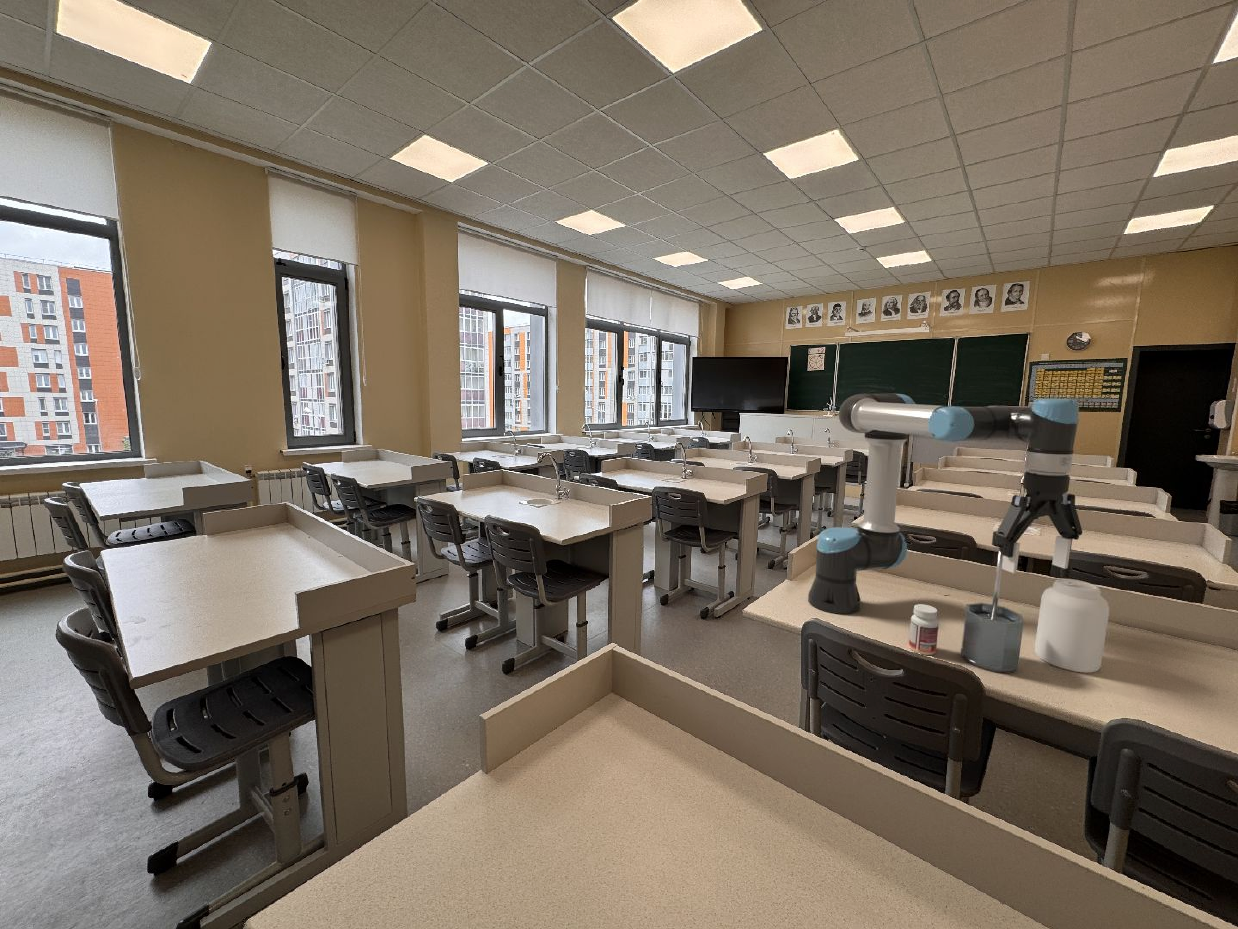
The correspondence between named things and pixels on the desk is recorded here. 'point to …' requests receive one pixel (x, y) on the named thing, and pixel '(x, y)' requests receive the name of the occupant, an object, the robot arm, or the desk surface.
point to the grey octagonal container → (992, 639)
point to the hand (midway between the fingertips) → (1034, 568)
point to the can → (1072, 626)
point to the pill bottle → (924, 629)
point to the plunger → (996, 582)
